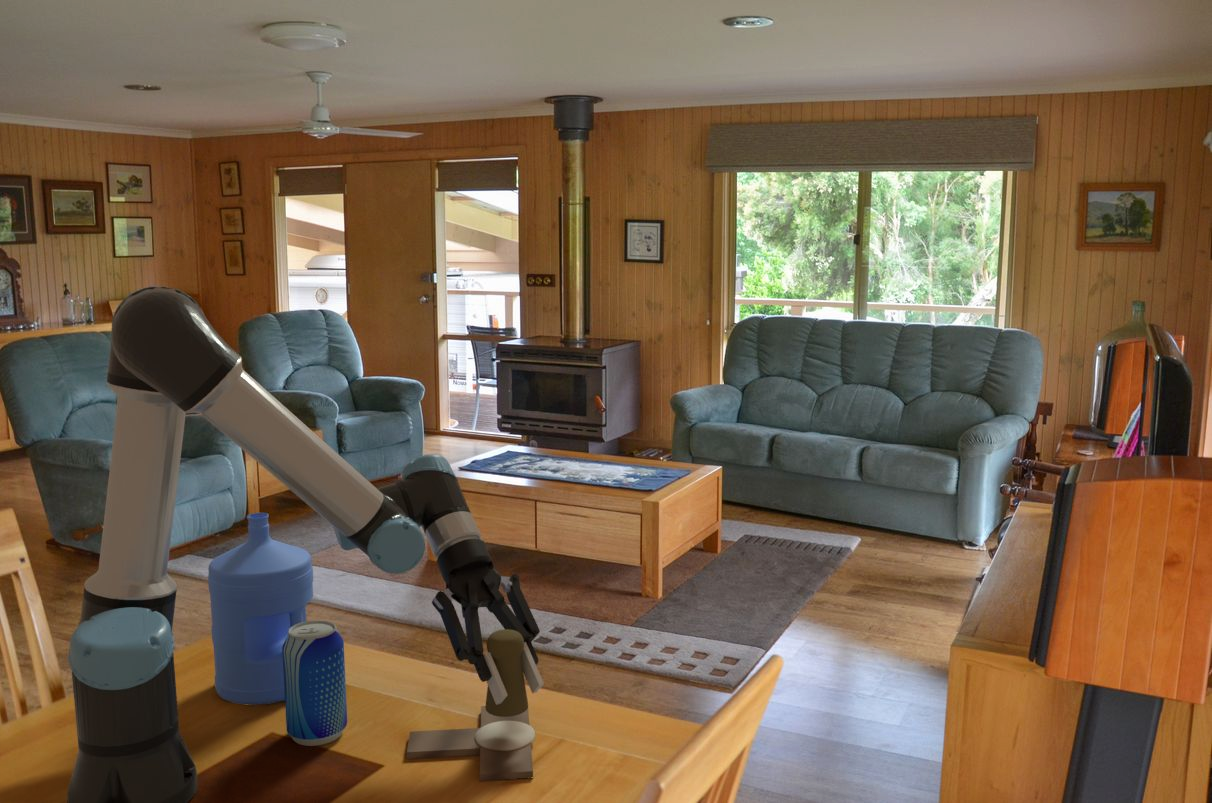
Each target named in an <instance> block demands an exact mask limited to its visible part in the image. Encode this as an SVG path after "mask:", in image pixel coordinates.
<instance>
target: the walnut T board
mask: <svg viewBox="0 0 1212 803" xmlns="http://www.w3.org/2000/svg"><path fill="white" fill-rule="evenodd" d="M485 706H486V705H481V706H480V727H473V728H471V727H470V728H454V729H453V728H452V729H451V728H450V729H435V730H434V729H433V730H414V731H413V730H411V731H409V736H408V741H407V742H408V743H407V749H406V759H407V760H413V759H414V760H415V759H429V758H430V759H432V758H450V757H468V756H470V757H471V756H479V782H491V781H506V780H505V779H511V780H518V779H517V778H528V777H530V778H528V779H532V778H531V777H533V778H534V767H533V754H532V753H533V752H532V743H533V742H534V740H535V738H536V732H535V729H534V728H533V727H532V726H531V725H530V716H529V715H530V714H529V708H528V709H527V710H526V711H525V712H523V713H521V714H519V715H516V716H510V717H499V716H494V715H491V714H489V713H488V712H487V711H486V709H485Z"/></svg>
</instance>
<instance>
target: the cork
mask: <svg viewBox="0 0 1212 803" xmlns="http://www.w3.org/2000/svg"><path fill="white" fill-rule="evenodd" d="M523 649H524V640H523V637H522V635H521V634H520V633H519V632H517V631H515V630H510V629H504V628H503V629H499V630H496V631H494V632H492V633H491V634H489V636H488V638H487V641H486V650H487V653H488V652H490V653H491V656H492V658H493V661H494V663H495V666H496V668H497V670H498V673H499V675H500V678H501V680H502V682H503V685H504V687H505V690H506V692H507V694H508V696H507V697H506V698H505V699H504V700H503V702H502V703H501V704H497V705H496V703H495V701H494V698H493V696H492V693H491V691H490V688H489V686H488V685H487V689H486V697H485V698H486V699H485V705H484V706H485V709H486V711H487V712H488V713H489V714H491V715H494V716H499V717H510V716H516V715H519V714H521V713H523V712H525V711H526V710H527V709H528V710H529V701H528V695H527V689H526V682H525V675H524V673H523V668H522V662H521V656H520V655H521V654H522V652H523Z"/></svg>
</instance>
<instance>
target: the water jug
mask: <svg viewBox="0 0 1212 803" xmlns="http://www.w3.org/2000/svg"><path fill="white" fill-rule="evenodd" d="M269 517H270V516H269V513H267V512H254V513H250V514H247V516H246V519H247V520H248V525H247V530H248V540H247V541H245V542H244V543H242V544H239V545H238V546H236V547H234V548H232V549H230V550H228V551H225V552H224V553H221V554H220V555H218V556H216V557H215V558H212V560H211V561H210V562H209V564H208V576H207V578H208V579H207V583H208V586H207V587H208V592H209V599H210V612H211V614H210V616H211V631H210V632H211V640H212V646H213V658H214V673H215V674H214V687H215V688H214V689H215V691H216V693H217V695H218V696H219V697H220V698H221V699H223V700H225V701H227V702H229V701H230V703H232V702H233V704H237V703H238V704H237V705H244V704H248V706H259V705H258V704H262V705H269V703H270V704H276V703H279V702H280V701H281V702H285V691H284V672H283V654H282V646H283V644H284V642H285V640H286V638H287V637H288V635H289V634H288V630H289V629H290V628H291V627H292V626H294V625H296V624H299V623H302V622H306V621H307V608H306V606H307V605H308V604H309V603H310V602H311V601H312V599H313V598H314V586H313V585H314V569H313V568H314V567H313V564H312V556H311V554H310V552H309V551H307V550H306V549H304V548H302V547H297V546H295V545H291V544H287V543H284V542H281V541H278V540H275V539H272V538H271V536H270V524H269ZM275 702H276V703H275ZM249 704H250V705H249Z"/></svg>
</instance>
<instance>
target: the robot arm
mask: <svg viewBox="0 0 1212 803" xmlns="http://www.w3.org/2000/svg"><path fill="white" fill-rule="evenodd" d="M111 321H112V322H111V332H110V337H111V338H110V339H111V340H110V341H111V342H110V349H109V350H110V351H109V359H108V365H107V366H108V367H107V377H106V385H107V386H108V387H109V388H110V390H112V392H113V393H114V394H115V395H116V398H117V400H116V402H117V403H116V409H115V419H114V428H113V436H112V437H113V438H112V445H111V446H112V448H111V453H110V454H111V456H110V463H109V472H108V482H107V490H106V500H105V510H104V516H103V517H104V518H103V527H102V535H101V544H100V546H101V547H100V552H99V562H98V570H97V571H96V572H95V573H93V574H92V575H91V576H90V577H88V578H87V579H86V580H84V584H83V586H84V587H83V594H82V603H81V611H80V618H79V622H78V625H77V627H76V628H75V629H74V631H73V633H72V634H71V636H70V640H69V650H68V657H67V658H68V665H69V667H70V670H71V681H72V692H73V702H74V712H75V723H76V735H77V748H78V753H77V757H76V760H75V764H74V768H73V770H72V771H73V772H72V774H71V778H70V782H69V785H68V789H67V794H66V803H189V802H190V801H191V800H192V798H194V796H195V795H196V793H197V791H198V788H199V786H198V785H199V783H198V772H197V767H196V764H195V762H194V760H193V758H192V756H191V754H190V751H189V749H188V747H187V745H186V743H185V741H184V739H183V737H182V734H181V732H180V727H179V726H180V725H179V715H178V714H179V712H178V711H179V710H178V698H177V696H178V695H177V686H176V685H177V684H176V682H177V681H176V671H175V659H174V658H175V657H174V656H175V655H174V650H175V637H174V633H173V624H174V616H175V607H176V599H177V598H176V597H177V591H178V585H177V582H176V581H175V580H174V579H173V578H172V577H171V576H170V575H169V574H168V568H169V557H170V549H171V540H172V531H173V526H174V515H175V508H176V507H175V506H176V500H177V490H178V482H179V473H180V464H181V457H182V456H181V455H182V448H183V440H184V439H183V438H184V431H185V424H186V423H185V422H186V414H195V413H196V414H199V415H201V416H202V417H203V418H204V419H206V420H207V421H208V422H209V423H211V424H212V425H213V426H214V427H215V428H216V429H218V430H219V431H220V432H221V433H222V434H224V436H226V437H227V438H228V439H230V440H231V441H232V442H233V443H234V444H235V445H236V446H238V447H239V448H240V449H241V450H243V451H244V453H246V454H247V455H248V456H250V458H252V459H253V460H254V461H256V462H257V463H258V464H259V465H260V466H261V467H263V469H265V470H266V471H267V472H268V473H270V474H271V475H272V476H274V477H275V479H276V480H278V481H279V482H280V483H282V484H283V485H284V486H285V487H286V488H288V490H290V491H291V492H292V493H293V494H294V495H296V496H297V497H298V498H299V499H300V500H302V501H303V502H304V503H306V505H308V506H309V507H310V508H311V509H312V510H314V511H315V512H316V513H317V514H318V515H320V517H322V518H323V520H325V521H327V522H328V524H330V525H331V526H332V528H333V531H334V534H335V537H336V539H337V540H336V541H337V542H338V544H339V546H340V548H341V549H342V550H344V551H350V550H354V549H359V550H360V551H361V552H363V553H364V554H365V555H366V556H367V557H368V558H369V560H370V562H371V563H372V564H373V565H375V567H377V568H378V569H380V570H381V571H382V572H385V573H387V574H391V575H400V574H405V573H406V572H409V571H411V570H412V569H414V568H415V567H416V566H417V565H419V563H420V561H422V559H423V556H424V554H425V551H426V540H427V543H428V544H429V547H430V549H431V552H432V555H433V557H434V558H435V559H436V565H437V567H438V570H439V573H440V574H441V577H442V580H443V581H444V582H445V589H444V590H443V591H442V590H439V591H438V592H436V594H435V596H434V597H433V599H432V600H431V604H432V606H433V607H434V609H436V611H437V612H438V613H439V614H440V617H441V620H442V623H443V625H444V628H445V630H446V633H447V636H448V638H449V641H450V644H451V646H452V649H453V651H454V655H455V657H456V659H457V660H458V661H460V662H463V661H464V660H465V661H467V662H468V663H469V664H470V665H473V666H474V668H475V670H476V673H477V675H478V677H479V680H480V681H481V682H482V683H484V682H486V683H487V687H488V686H489V688H490V691H491V693H492V696H493V698H494V701H495V703H496V705H497V704H501V703H502V702H503V700H504V699H505V698H506V697H507V696H508V694H507V692H506V690H505V687H504V685H503V682H502V680H501V678H500V675H499V673H498V670H497V668H496V666H495V663H494V661H493V658H492V656H491V653H490V652H488V651H487V652H485V653H484V643H483V636H482V631H481V630H482V629H481V625H480V624H481V623H480V616H479V609H480V608H486V609H487V610H488V612H489V613H492V614H493V615H494V616H495V618H496V619H497V621H498V622H499V623H500V624H501V626H502V627H503V630H504V629H510V630H515V631H517V632H519V633H520V634H521V635H522V637H523V640H524V649H523V652H522V654H521V655H520V656H521V662H522V668H523V675H524V678H525V679H526V682H527V685H528V686H529V689H530V692H531V694H535V693H537V692H539V690H540V689H541V688H543V686H544V684H545V683H544V680H543V678H542V676H541V674H540V672H539V669H538V667H537V665H538V663H539V656H538V655H537V653H536V651H535V648H534V646H533V644H532V642H533V641H534V640H535V639H536V637H538V635H539V634H540V631H541V630H540V627H539V626H538V624H537V621H536V619H535V617H534V615H533V613H532V610H531V609H530V607H529V604H528V602H527V600H526V598H525V596H524V593H523V592H522V589H521V584H520V576H519V575H518V574H517V573H512V574H511V576H502V575H501V574H500V573H499V572H498V570H496V568H495V567H494V565H493V559H492V557H491V555H490V552H489V550H488V548H487V546H486V544H485V543H486V542H484V541H483V540H482V539H483V537H482V534H481V531H480V529H479V527H478V525H477V523H476V520H475V519H474V516H473V513H472V512H471V510H470V508H469V505H468V503H467V500H466V498H465V495H464V493H463V491H462V489H461V486H460V483H459V480H458V477H457V476H456V474H455V473H454V470H453V468H452V466H451V465H450V463H449V461H448V460H447V458H445V457H444V456H443V455H441V454H436V453H434V454H433V453H430V454H429V453H428V454H424V455H421V456H418V457H416V459H414V460H412V461H411V460H410V461H409V462H408V463H407V464H405V466H404V467H403V468H402V471H401V479H400V480H399V481H396V482H393V483H392V482H391V483H389V484H386V485H383V486H380V487H376V486H374V484H372V483H371V482H370V481H369V480H368V479H366V477H364V476H363V475H362V474H361V473H360V472H359V471H358V470H356V469H355V468H354V466H352V465H351V463H349V462H348V461H347V460H345V459H344V458H343V457H342V456H341V455H340V454H339V453H337V451H335V450H334V449H333V448H332V447H331V446H329V444H327V443H326V442H325V441H324V440H323V439H322V438H321V437H319V436H318V435H317V434H316V433H315V432H314V431H313V430H312V429H310V427H308V426H307V425H306V424H305V423H304V422H303V421H302V420H300V419H299V418H298V417H297V416H296V415H295V414H294V413H293V412H292V411H290V410H289V409H288V408H287V407H286V406H285V405H283V404H282V403H281V402H280V401H279V400H278V399H277V398H276V397H275V396H274V395H273V394H271V393H270V392H269V391H268V390H266V388H264V386H263V385H261V384H260V383H259V382H258V381H256V379H255V378H253V377H252V376H251V375H250V374H249V373H248V372H246V371H245V370H244V368H243V360H242V359H243V358H242V356H241V355H240V354H239V353H238V352H236V351H235V350H234V349H233V348H232V347H231V346H230V345H229V343H227V342H226V341H225V340H224V339H223V338H222V336H220V334H219V333H218V332H217V331H216V329H215V328H214V327H213V325H212V324H211V323H210V321H209V320H208V318H207V317H206V315H205V313H204V311H203V310H202V308H201V306H200V305H199V304H198V303H197V301H196V300H195V299H194V298H193V297H192V296H190V295H188V294H187V293H185V292H183V291H181V290H180V289H177V288H176V289H175V288H172V287H171V288H170V287H168V286H155V285H154V286H149V287H142V288H140V289H138V290H136V291H135V290H134V291H133V292H131V293H130V294H128V295H127V296H126V297H125V298H124V299H122V301H120V303H119V304H118V306H117V308H116V309H115V311H114V313H113V317H112V320H111ZM420 528H422V530H423V532H422V530H421V529H420ZM425 537H426V539H425ZM500 587H501V588H502V589H503V591H502V592H503V593H506V596H507V599H508V600H507V601H508V602H509V604H510V606H511V608H510V607H509V605H508V604H507V603H506V601H505V597H504V595H503V594H502V593H501V591H500V590H499V589H500ZM453 600H454V601H455V602H456V603H458V604H460V606H461V614H462V618H464V625H465V632H464V629H463V627H462V624H461V621H460V618H459V616H458V613H457V609H456V608H455V605H454V604H453Z"/></svg>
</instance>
